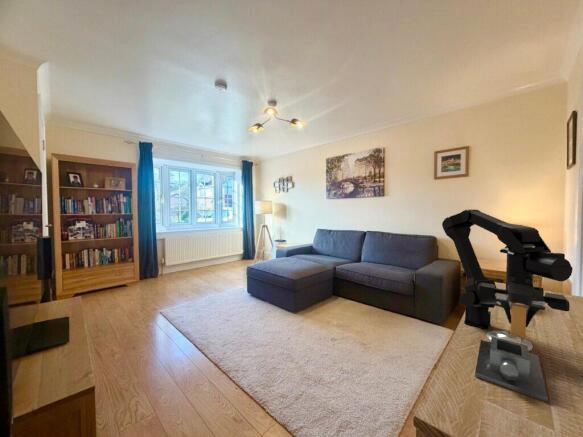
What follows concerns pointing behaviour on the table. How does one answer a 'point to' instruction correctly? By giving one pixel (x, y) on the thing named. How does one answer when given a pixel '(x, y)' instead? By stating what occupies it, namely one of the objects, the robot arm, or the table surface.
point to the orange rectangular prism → (518, 319)
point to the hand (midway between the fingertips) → (517, 324)
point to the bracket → (511, 364)
